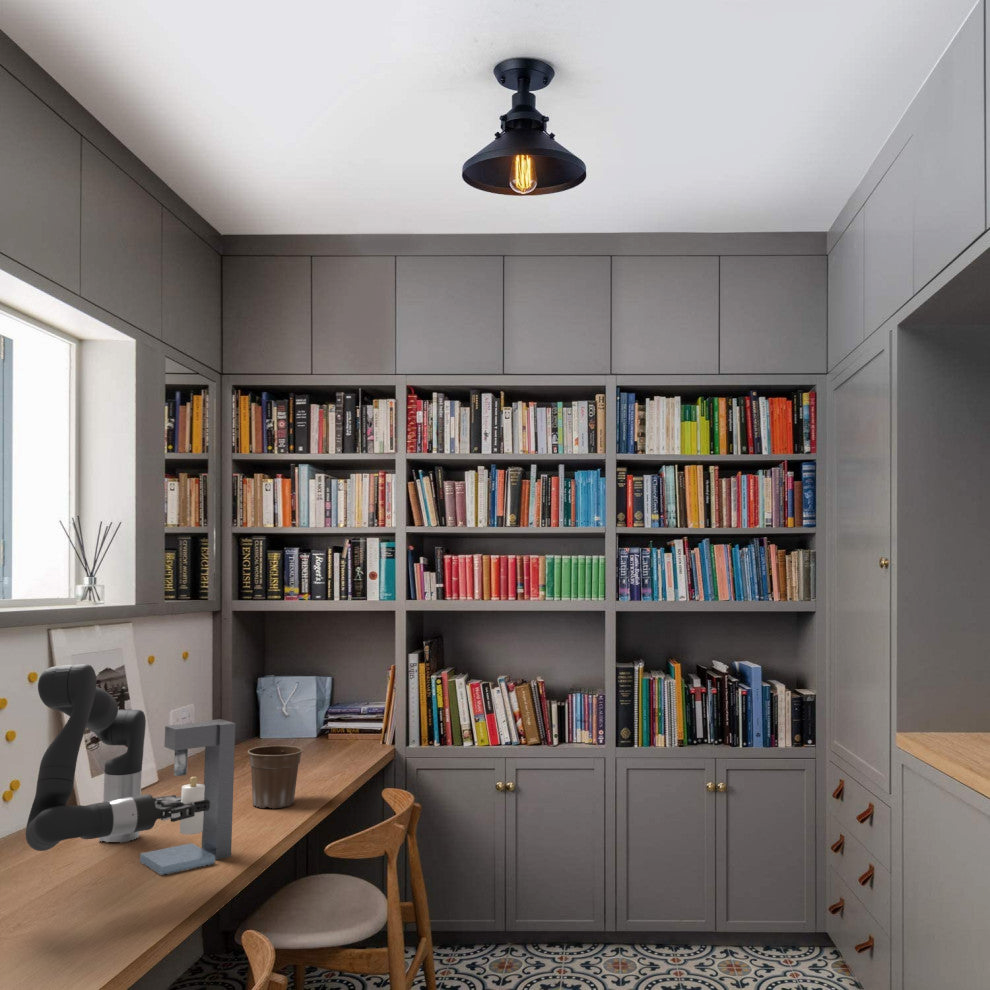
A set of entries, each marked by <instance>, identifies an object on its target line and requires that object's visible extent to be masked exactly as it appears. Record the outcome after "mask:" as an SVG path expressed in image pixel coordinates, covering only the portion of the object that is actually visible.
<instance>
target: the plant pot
mask: <svg viewBox="0 0 990 990" xmlns="http://www.w3.org/2000/svg"><path fill="white" fill-rule="evenodd" d="M303 751H304V750H303V748H301V747H299V746H292V745H265V746H257V747H253V748H250V749H248V750H247V754H248V755H249V765H250V770H251V790H252V792H251V793H252V805H253V806H254V807H255V806H256V807H255V808H258V807H259V809H265V808H269V809H271V808H272V809H282V807H284V808H286V806H287V807H291V806H292V805H293V804H294V803H295V795H296V787H297V778H298V770H299V764H300V762H301V756H302V753H304V752H303ZM292 803H293V804H292Z"/></svg>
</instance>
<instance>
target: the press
mask: <svg viewBox="0 0 990 990" xmlns="http://www.w3.org/2000/svg"><path fill="white" fill-rule="evenodd" d="M235 741H236V722H232V721H230V720H229V721H228V720H225V719H220V718H219V719H212V720H206V721H200V722H199V721H198V722H191V723H190V722H189V723H183V724H182V723H181V724H171V725H165V726H164V746H163V747H164V748H167V749H169V750H172V751H174V762H173V764H174V766H173V776H176V777H178V776H179V777H181V776H182V777H183V776H186V775H187V774H188V758H189V757H188V753H189V749H190V750H191V749H199V748H204V767H203V769H204V772H203V774H204V775H203V785H205V791H204V800H209V801H210V808H209V810H206V811H204V817H203V831H202V832H201V847H200V846H198V845H197V844H194V843H192V842H190V843H186V844H181V845H176V846H171V847H167V848H162V849H156V850H152V851H147V852H141V853H139V863H141V864H142V863H143V864H142V865H144V864H145V865H146V866H145V865H144V866H145V867H147V866H148V867H149V869H150V868H151V869H150V870H152V869H153V870H154V871H153V870H152V871H153V872H155V871H156V872H157V873H156V872H155V873H156V874H158V873H159V874H158V875H160V874H161V875H163V876H165V875H164V874H167V875H170V874H169V873H172V874H175V873H174V872H176V873H179V872H178V871H181V872H183V871H182V870H185V871H188V870H187V869H190V870H193V869H192V868H194V869H198V868H197V867H199V868H202V867H201V866H203V867H206V865H208V866H212V865H215V864H216V863H215V861H219V860H222V858H224V859H228V858H231V857H232V842H233V841H232V838H233V836H232V835H233V813H234V812H233V810H234V809H233V808H234V807H233V806H234V805H233V803H234V783H235V782H234V778H235V777H234V775H235V774H234V773H235V744H236V742H235ZM227 857H228V858H227ZM218 859H219V860H218ZM214 863H215V864H214ZM211 864H212V865H211ZM148 867H147V868H148ZM161 875H160V876H161Z"/></svg>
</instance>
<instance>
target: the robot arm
mask: <svg viewBox="0 0 990 990" xmlns="http://www.w3.org/2000/svg"><path fill="white" fill-rule="evenodd" d="M37 690H38V696H39V698H40V700H41V702H42V703H43V704H44V705H45V706H46V707H47V708H49V709H52V710H55V711H58V712H61V713H62V714H65V715H66V716H68V717H69V718H68V720H67V721H66V723H65V724H64V726H63V727H62V729H61V731H59V733H58V734H57V735H56V736H55V738H54V739H53V740H52V742H51V743H50V744H49V746H48V747H47V749H46V750H45V751H44V754H43V756H42V758H41V760H40V764H39V769H38V770H39V771H38V775H37V781H36V788H35V789H36V790H35V795H34V798H33V801H32V805H31V808H30V812H29V815H28V819H27V823H26V828H25V839H26V842H27V845H28V846H29V847H30V848H31V849H33V850H35V851H38V852H45V851H48V850H50V849H53V848H54V847H55V846H57V844H59V843H60V842H61V841H65V840H70V839H78V838H81V839H82V840H94V839H98V842H99V841H101V842H102V841H106V842H105V843H108V842H120V843H127V842H131V841H130V840H132V841H134V839H135V840H137V839H139V837H140V832H143V831H149V830H151V829H153V828H154V826H155V823H156V822H157V820H160V821H169V820H170V822H173V823H174V822H177V821H180V820H182V819H186V818H190V817H193V816H195V812H201V811H206V810H209V808H210V801H209V800H202V801H197V802H188V803H183V801H181V795H179V796H177V795H174V794H173V795H165V796H156V797H154V796H152V794H149V793H146V794H142V778H143V777H142V776H143V775H142V774H143V761H144V760H143V759H144V745H145V736H146V727H147V721H146V714H145V713H144V711H143V710H141V709H119V706H118V702H117V701H116V700H117V699H115V697H114V696H113V695H111V694H110V693H109V692H108V691H106V690H105V689H102V687H101V688H100V687H97V675H96V670H95V669H94V667H93V666H92V665H91V664H85V663H84V664H83V663H82V664H66V665H55V666H52V667H49V668H47V669H45V670H44V671H43V672H42V673H41V675H40V676H39V679H38V681H37ZM86 729H89V730H90V731H91V732H93V733H94V734H95V736H96V737H97V738H98V739H99V740H100V742H102V743H103V744H104V745H107V746H127V750H126V751H125V753H123V754H121V755H120V756H116V757H113V758H109V759H108V760H107V761H106V762H104V763H105V764H104V768H103V769H104V771H103V772H104V774H103V776H104V777H103V797H102V798H103V799H102V802H97V803H92V804H86V805H78V804H77V805H76V804H72V805H69V804H68V805H67V803H68V801H69V799H70V797H71V795H72V793H73V788H74V781H75V777H76V776H75V775H76V770H77V769H76V768H77V763H78V756H79V753H80V748H81V744H82V741H83V739H84V734H85V731H86ZM187 809H188V811H187ZM136 838H137V839H136Z"/></svg>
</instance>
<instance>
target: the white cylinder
mask: <svg viewBox="0 0 990 990" xmlns="http://www.w3.org/2000/svg"><path fill="white" fill-rule="evenodd" d="M197 782H198V777H197V776H191V777H190V778H189V783H188V784H184V785H182V786H181V793H180V796H181V801H183V803H188V802H197V801H202V800H204V791H205V785H204V783H203V784H202V783H197ZM187 811H188V809H187ZM203 817H204V811H201V812H195V816H193V817H190V818H186V819H182V820H179V821H180V822H179V834H182V835H189V836H190V835H198V834H200V833H201V834H202V831H203Z"/></svg>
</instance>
